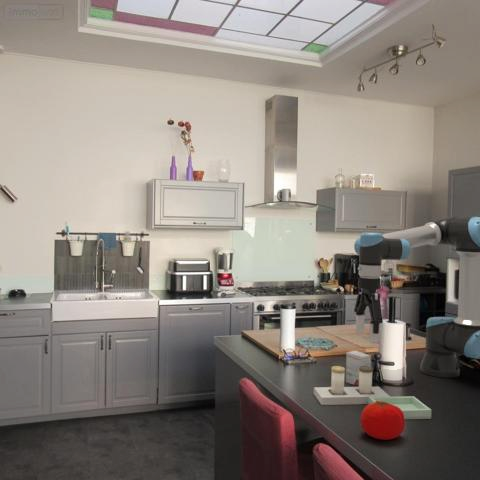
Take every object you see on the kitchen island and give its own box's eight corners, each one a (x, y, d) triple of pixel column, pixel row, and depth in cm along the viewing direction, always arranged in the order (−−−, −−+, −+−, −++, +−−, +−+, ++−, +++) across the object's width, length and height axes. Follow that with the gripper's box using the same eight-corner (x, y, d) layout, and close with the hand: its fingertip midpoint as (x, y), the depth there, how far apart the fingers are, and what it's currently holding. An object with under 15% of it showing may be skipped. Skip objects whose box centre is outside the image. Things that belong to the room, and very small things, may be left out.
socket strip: (378, 393, 179) (379, 363, 179) (389, 403, 169) (391, 371, 169) (313, 394, 176) (314, 363, 176) (321, 404, 166) (322, 372, 166)
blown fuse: (368, 396, 176) (369, 365, 175) (373, 401, 171) (374, 369, 171) (356, 396, 175) (357, 365, 175) (360, 401, 171) (362, 369, 170)
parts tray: (413, 404, 169) (413, 396, 169) (431, 418, 157) (431, 409, 157) (368, 405, 167) (368, 397, 167) (382, 419, 155) (383, 410, 155)
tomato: (410, 445, 138) (412, 408, 138) (366, 445, 137) (367, 408, 137) (395, 427, 150) (396, 394, 149) (354, 428, 149) (355, 394, 148)
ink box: (371, 386, 186) (372, 355, 186) (361, 388, 184) (363, 357, 183) (354, 379, 194) (355, 350, 193) (344, 381, 191) (346, 351, 190)
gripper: (347, 272, 183) (344, 329, 184) (372, 281, 159) (369, 347, 159) (366, 273, 184) (363, 329, 185) (395, 282, 159) (392, 347, 160)
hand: (366, 337), depth 172 cm, fingers open, 13 cm apart
